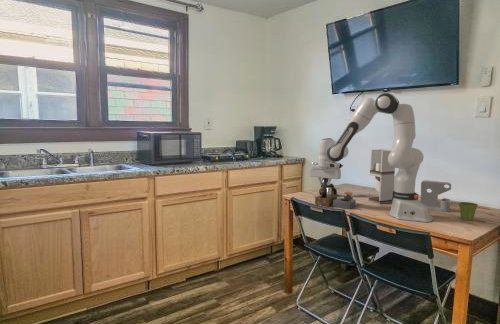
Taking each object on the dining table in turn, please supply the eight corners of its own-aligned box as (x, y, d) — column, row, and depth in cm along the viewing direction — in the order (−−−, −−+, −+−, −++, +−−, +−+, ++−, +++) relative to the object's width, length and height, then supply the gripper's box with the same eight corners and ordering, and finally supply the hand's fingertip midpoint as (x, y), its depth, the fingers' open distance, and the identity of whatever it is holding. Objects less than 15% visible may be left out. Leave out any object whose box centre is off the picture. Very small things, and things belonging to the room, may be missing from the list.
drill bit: (327, 196, 220) (328, 178, 219) (325, 197, 218) (326, 179, 216) (322, 196, 222) (323, 178, 221) (320, 197, 220) (321, 178, 218)
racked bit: (331, 202, 227) (332, 187, 226) (329, 203, 225) (330, 188, 224) (327, 201, 229) (327, 187, 228) (325, 202, 227) (325, 187, 225)
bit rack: (337, 202, 228) (337, 194, 227) (328, 207, 215) (328, 199, 214) (324, 200, 233) (324, 193, 232) (315, 205, 220) (315, 197, 219)
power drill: (344, 195, 249) (345, 161, 246) (322, 197, 242) (323, 162, 239) (338, 193, 256) (339, 160, 253) (316, 195, 249) (317, 161, 246)
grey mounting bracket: (450, 209, 212) (452, 180, 209) (449, 212, 203) (451, 183, 201) (419, 204, 221) (421, 177, 219) (417, 208, 213) (419, 179, 211)
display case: (381, 199, 237) (383, 149, 233) (393, 202, 228) (395, 150, 223) (368, 200, 233) (370, 149, 229) (379, 204, 223) (382, 151, 219)
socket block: (357, 204, 222) (357, 196, 222) (349, 209, 209) (350, 201, 209) (341, 202, 228) (341, 194, 228) (332, 206, 216) (333, 199, 215)
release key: (352, 202, 224) (352, 192, 223) (350, 204, 221) (350, 193, 220) (346, 202, 226) (346, 191, 225) (344, 203, 223) (344, 192, 222)
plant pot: (455, 218, 190) (456, 203, 189) (459, 215, 197) (460, 200, 196) (474, 222, 184) (475, 206, 182) (478, 218, 190) (480, 203, 189)
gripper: (308, 162, 220) (307, 183, 222) (338, 165, 209) (337, 187, 211) (312, 161, 226) (311, 182, 227) (342, 164, 214) (341, 185, 216)
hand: (324, 184), depth 219 cm, fingers closed on drill bit, 3 cm apart
